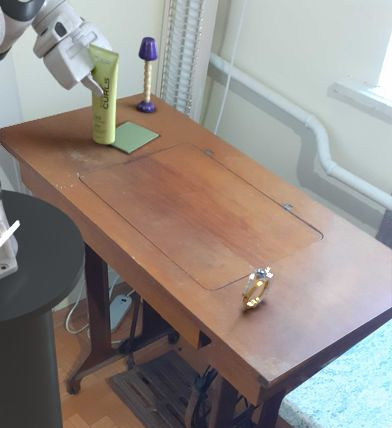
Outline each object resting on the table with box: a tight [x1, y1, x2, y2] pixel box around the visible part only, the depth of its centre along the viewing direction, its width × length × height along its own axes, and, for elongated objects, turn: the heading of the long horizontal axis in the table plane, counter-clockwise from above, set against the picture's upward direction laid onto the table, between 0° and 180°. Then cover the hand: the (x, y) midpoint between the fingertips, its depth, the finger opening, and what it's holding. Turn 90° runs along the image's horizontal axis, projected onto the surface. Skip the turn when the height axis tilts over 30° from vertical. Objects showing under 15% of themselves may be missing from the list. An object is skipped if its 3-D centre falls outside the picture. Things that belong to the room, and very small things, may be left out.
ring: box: [240, 267, 275, 310], centre depth 91 cm, size 7×3×8 cm, turn 131°
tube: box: [89, 43, 120, 145], centre depth 116 cm, size 6×5×20 cm
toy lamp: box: [137, 36, 159, 114], centre depth 132 cm, size 5×5×17 cm
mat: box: [108, 120, 159, 154], centre depth 127 cm, size 12×9×1 cm
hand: (106, 90), depth 115 cm, fingers closed on tube, 4 cm apart
